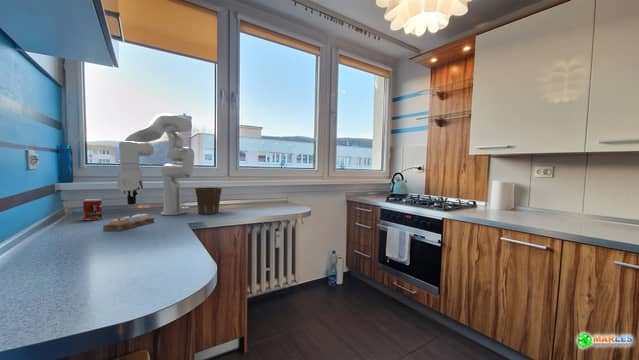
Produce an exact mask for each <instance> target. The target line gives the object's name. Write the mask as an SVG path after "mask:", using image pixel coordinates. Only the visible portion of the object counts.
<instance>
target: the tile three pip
mask: <svg viewBox="0 0 639 360" xmlns="http://www.w3.org/2000/svg"><path fill="white" fill-rule="evenodd" d="M126 223H128V219H122V218H119V217H117V218H115V219H110V220H109V224H110V225H122V224H126Z"/></svg>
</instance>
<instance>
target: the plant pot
mask: <svg viewBox="0 0 639 360" xmlns="http://www.w3.org/2000/svg"><path fill="white" fill-rule="evenodd" d="M222 190H223V188H221V187H195V188H194V191H195V195H196V203H197V204H196V205H197V213H198V214H199V215H213V214H218V213H219V210H220V201H221V200H220V199H221V195H222Z"/></svg>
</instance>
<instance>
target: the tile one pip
mask: <svg viewBox="0 0 639 360" xmlns="http://www.w3.org/2000/svg"><path fill="white" fill-rule="evenodd" d="M132 216H139V220H143V219H147V218H148V217H149V214H148V213H137V214H134V215H132Z"/></svg>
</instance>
